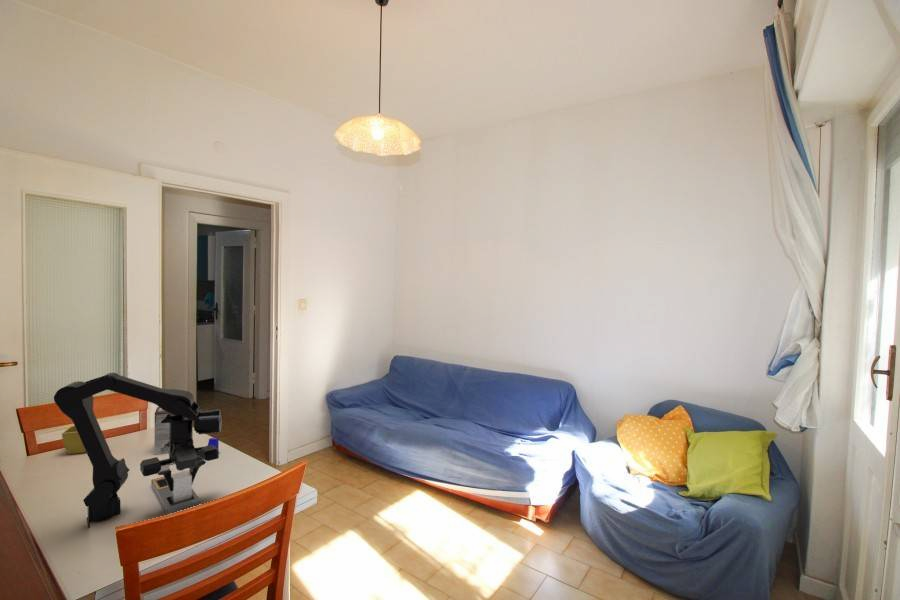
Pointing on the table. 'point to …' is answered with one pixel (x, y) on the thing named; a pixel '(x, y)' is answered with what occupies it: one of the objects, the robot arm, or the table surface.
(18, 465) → the table surface
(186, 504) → the slotted holder
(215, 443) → the blue notched block
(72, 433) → the flower pot
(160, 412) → the coffee box
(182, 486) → the light grey block
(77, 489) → the table surface
